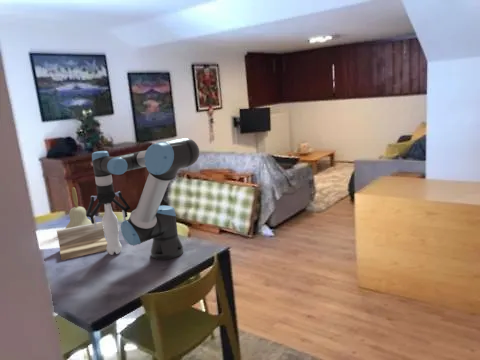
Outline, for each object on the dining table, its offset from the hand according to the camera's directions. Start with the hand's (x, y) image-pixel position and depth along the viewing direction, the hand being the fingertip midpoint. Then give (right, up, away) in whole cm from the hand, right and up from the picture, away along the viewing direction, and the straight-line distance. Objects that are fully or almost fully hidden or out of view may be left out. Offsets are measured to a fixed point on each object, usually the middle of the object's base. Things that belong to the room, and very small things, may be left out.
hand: (110, 226), depth 197 cm
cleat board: (-16, -13, +8) cm, 22 cm away
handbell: (-32, -6, +43) cm, 54 cm away
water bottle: (+1, -13, +3) cm, 14 cm away
